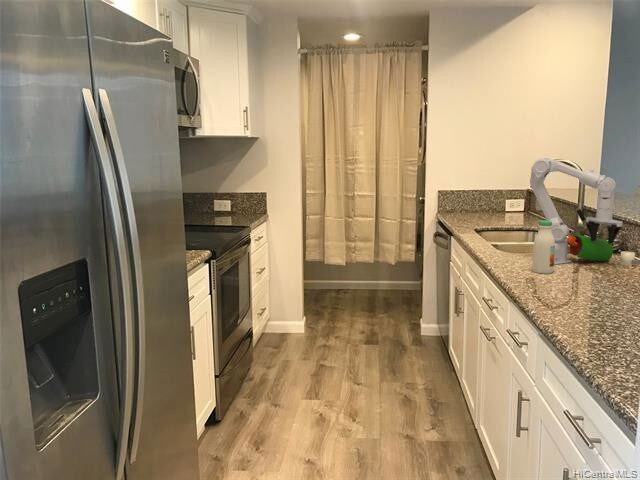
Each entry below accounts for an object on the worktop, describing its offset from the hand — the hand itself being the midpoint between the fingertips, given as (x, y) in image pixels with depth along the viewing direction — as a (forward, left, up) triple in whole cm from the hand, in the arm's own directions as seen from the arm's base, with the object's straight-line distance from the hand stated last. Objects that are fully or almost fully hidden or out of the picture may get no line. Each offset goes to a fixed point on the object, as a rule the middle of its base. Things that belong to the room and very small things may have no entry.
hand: (602, 242), depth 216 cm
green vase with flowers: (+10, +6, -6) cm, 13 cm away
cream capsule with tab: (+12, -3, -10) cm, 16 cm away
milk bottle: (-28, +4, -10) cm, 30 cm away
